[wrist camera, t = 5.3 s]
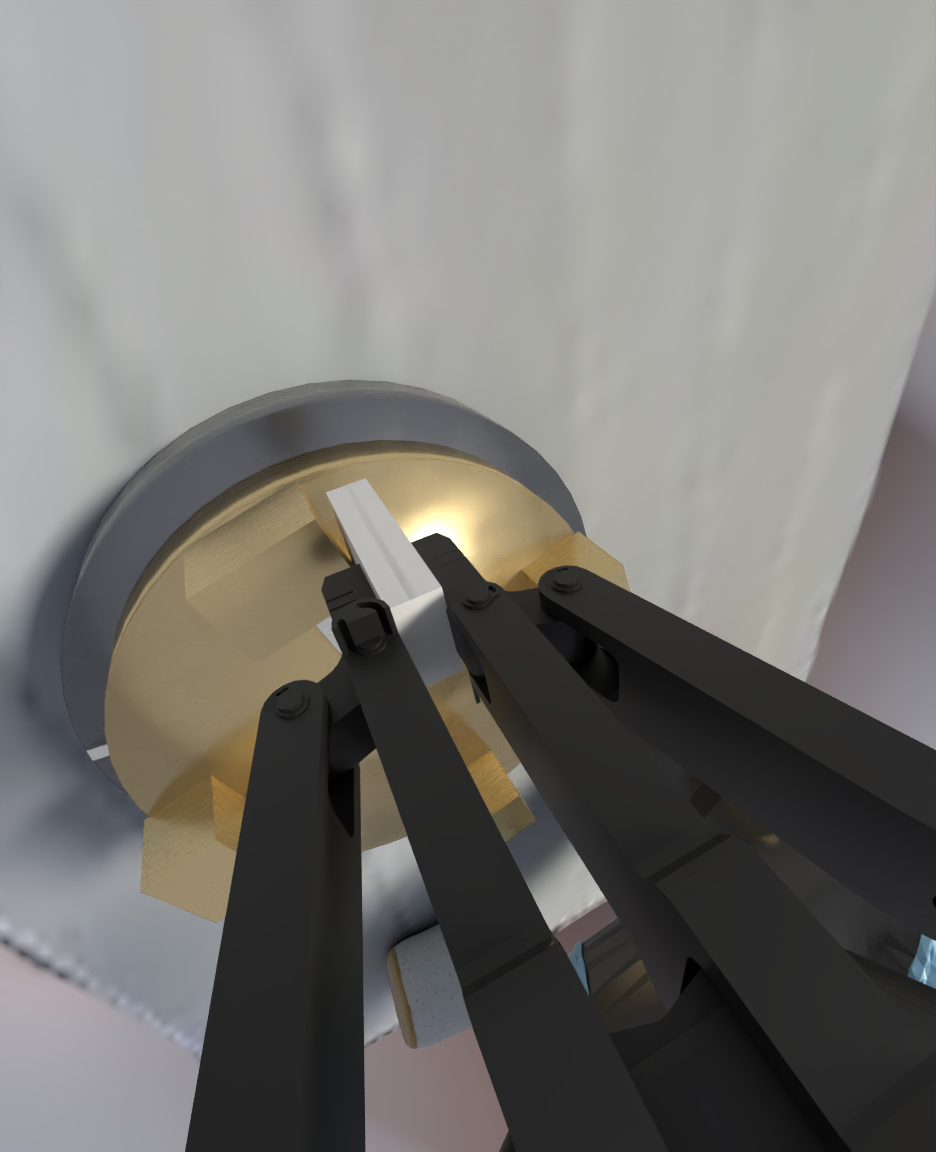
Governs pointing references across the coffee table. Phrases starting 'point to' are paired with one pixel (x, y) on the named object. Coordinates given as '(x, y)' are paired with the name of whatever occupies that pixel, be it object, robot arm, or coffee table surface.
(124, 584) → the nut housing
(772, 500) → the coffee table surface
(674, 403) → the coffee table surface
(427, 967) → the ceramic mug
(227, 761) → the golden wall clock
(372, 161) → the coffee table surface
